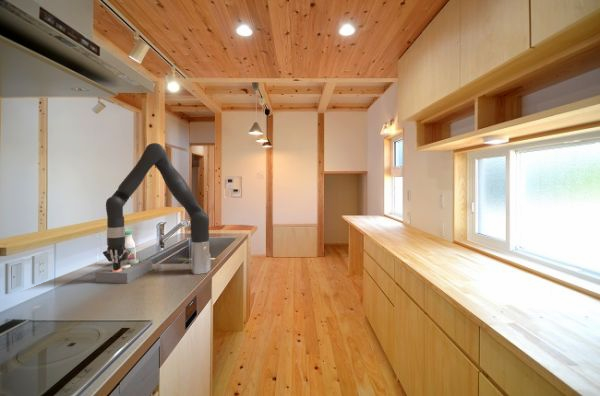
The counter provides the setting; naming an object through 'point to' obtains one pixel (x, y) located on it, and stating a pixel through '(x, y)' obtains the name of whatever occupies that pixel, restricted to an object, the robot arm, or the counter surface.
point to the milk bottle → (130, 245)
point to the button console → (123, 272)
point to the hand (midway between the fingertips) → (116, 269)
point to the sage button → (133, 261)
